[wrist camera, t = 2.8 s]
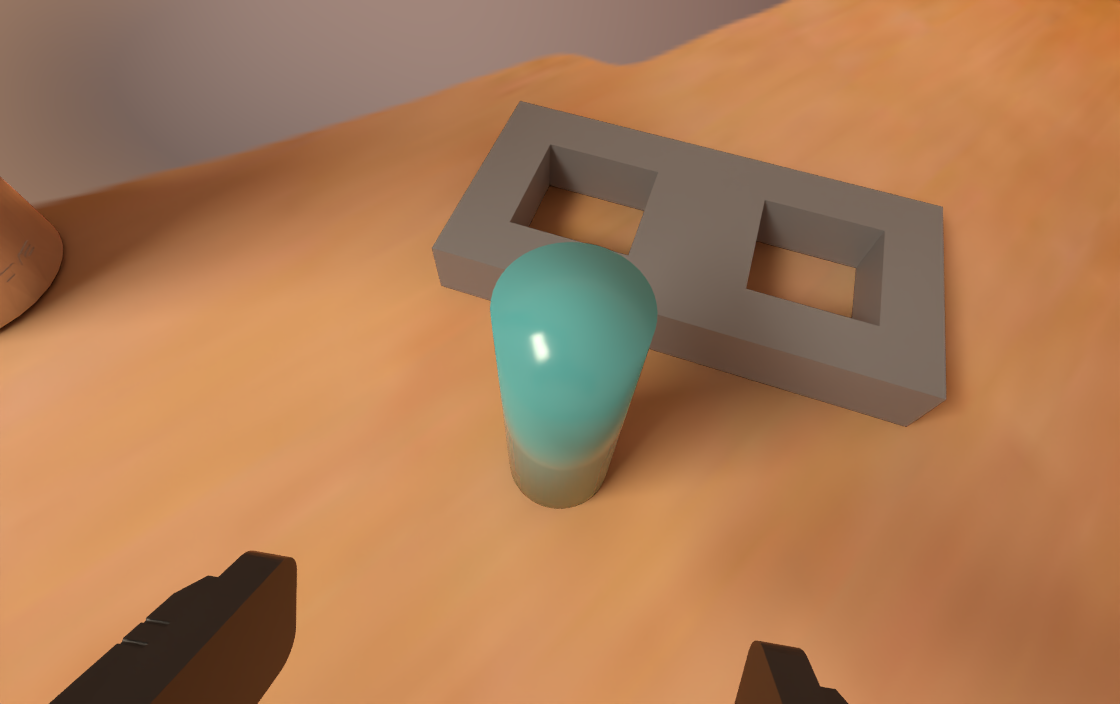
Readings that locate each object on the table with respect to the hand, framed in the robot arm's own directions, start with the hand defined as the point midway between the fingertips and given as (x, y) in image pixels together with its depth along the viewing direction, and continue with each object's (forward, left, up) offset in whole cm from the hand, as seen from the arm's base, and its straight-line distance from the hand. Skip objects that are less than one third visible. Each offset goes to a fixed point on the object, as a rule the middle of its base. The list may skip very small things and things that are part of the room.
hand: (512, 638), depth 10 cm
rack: (+2, +21, -13) cm, 25 cm away
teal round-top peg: (-1, +8, -13) cm, 15 cm away
